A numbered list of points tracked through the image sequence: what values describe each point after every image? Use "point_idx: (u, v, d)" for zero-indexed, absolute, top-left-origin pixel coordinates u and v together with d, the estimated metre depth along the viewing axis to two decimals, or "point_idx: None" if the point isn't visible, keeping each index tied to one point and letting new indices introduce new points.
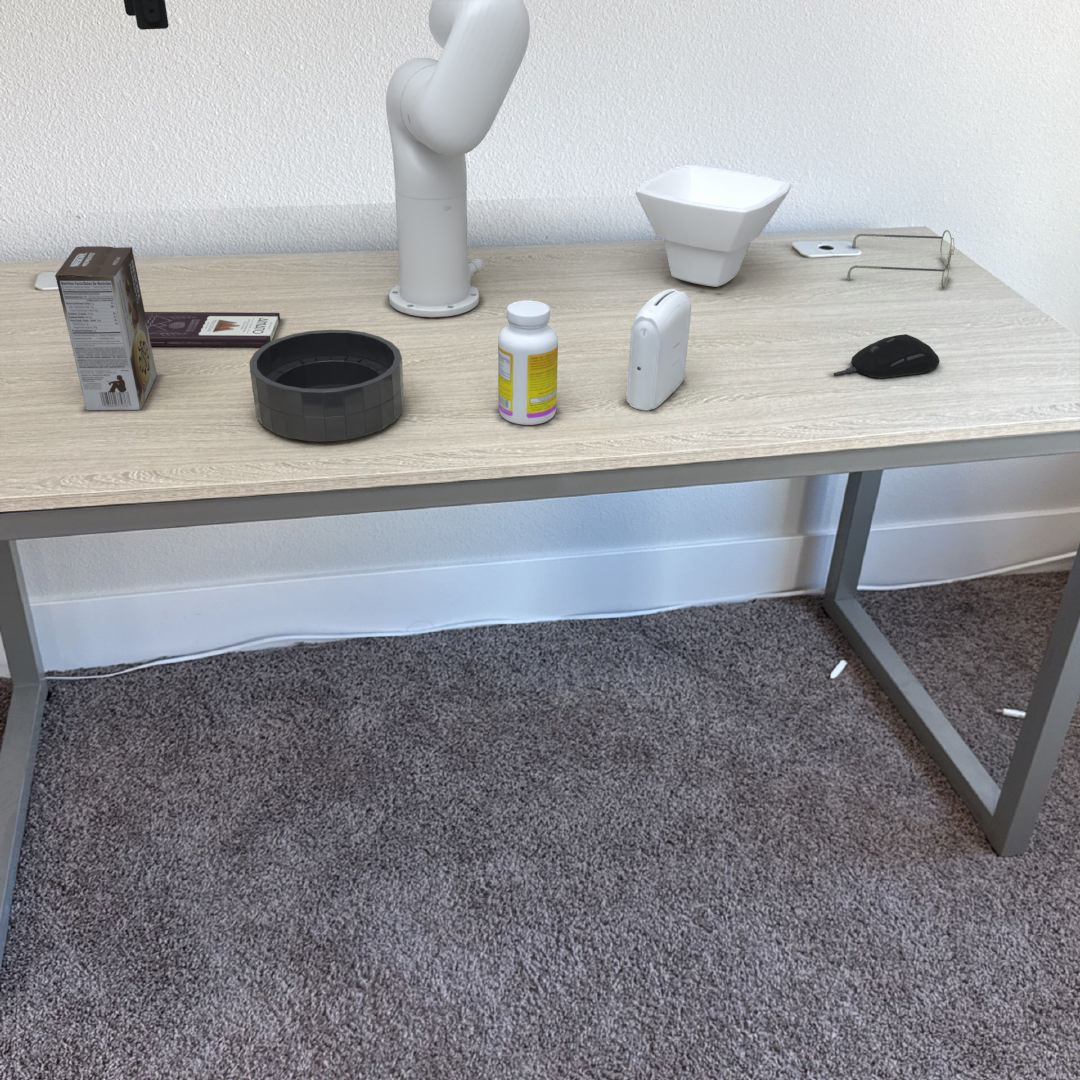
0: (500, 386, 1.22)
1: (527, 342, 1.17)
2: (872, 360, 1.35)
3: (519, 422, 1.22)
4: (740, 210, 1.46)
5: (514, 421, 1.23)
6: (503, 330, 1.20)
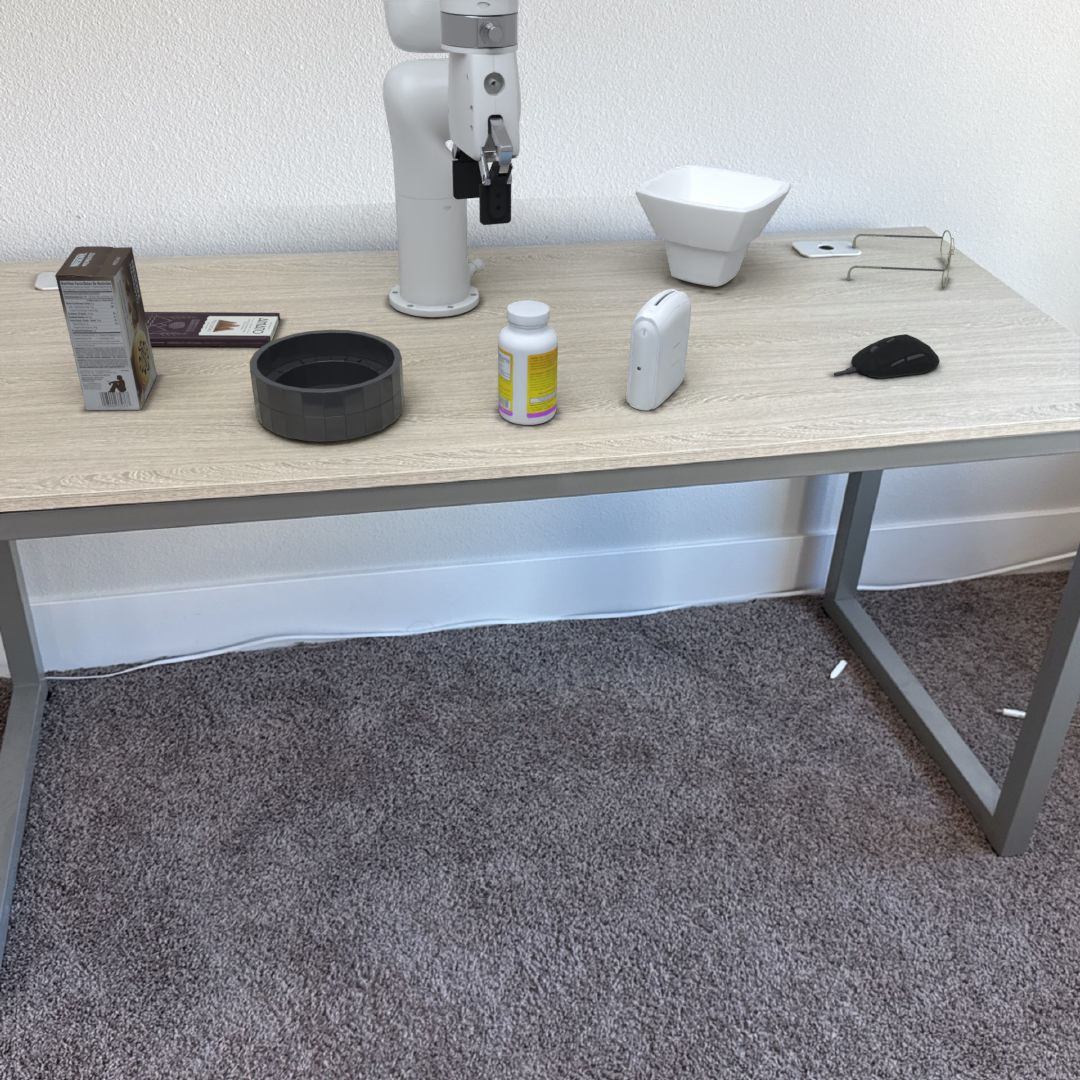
0: (500, 386, 1.22)
1: (527, 342, 1.17)
2: (872, 360, 1.35)
3: (519, 422, 1.22)
4: (740, 210, 1.46)
5: (514, 421, 1.23)
6: (503, 330, 1.20)
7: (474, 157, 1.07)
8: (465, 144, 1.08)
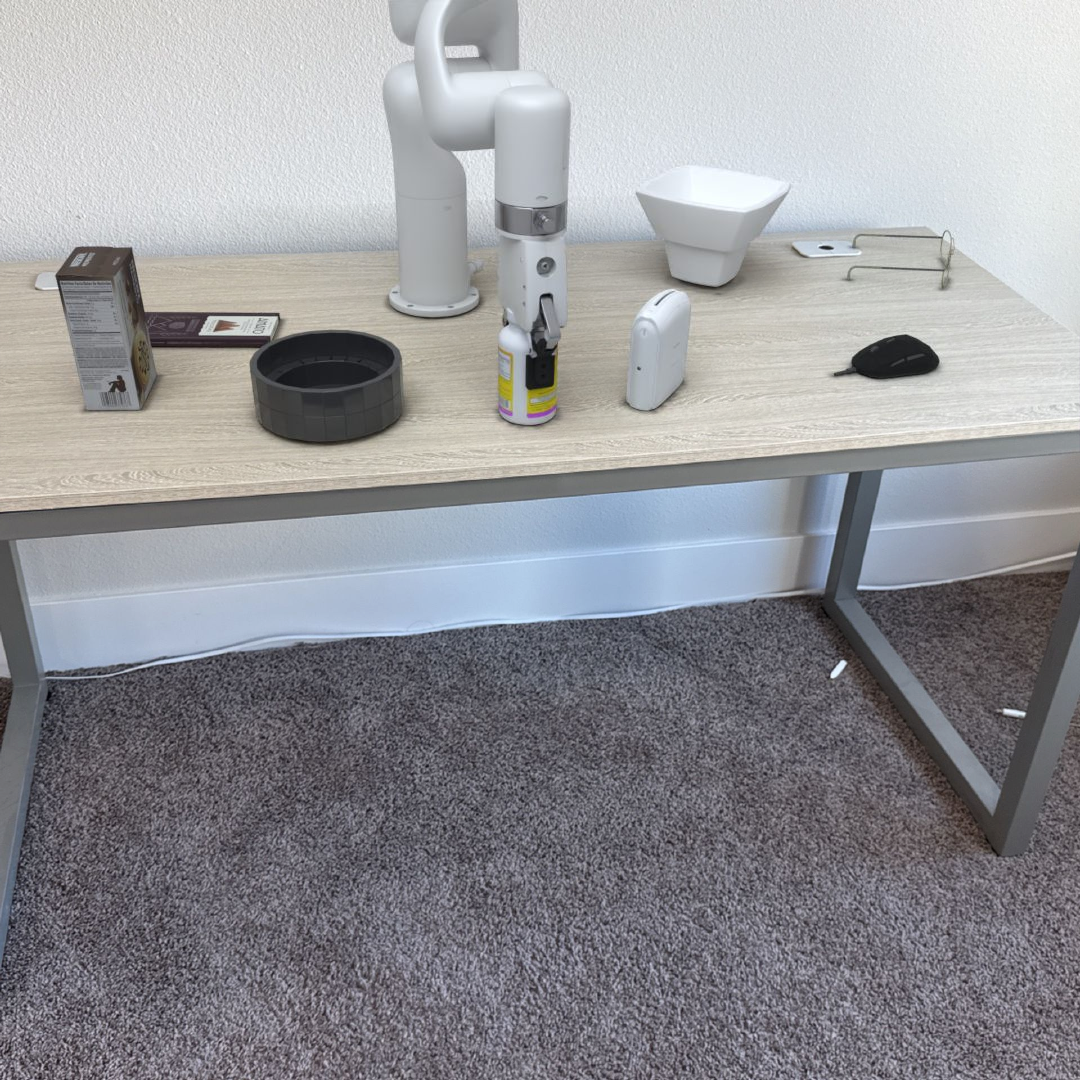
0: (500, 386, 1.22)
1: (527, 342, 1.17)
2: (872, 360, 1.35)
3: (519, 422, 1.22)
4: (740, 210, 1.46)
5: (514, 421, 1.23)
6: (503, 330, 1.20)
7: (525, 329, 1.15)
8: (516, 315, 1.16)
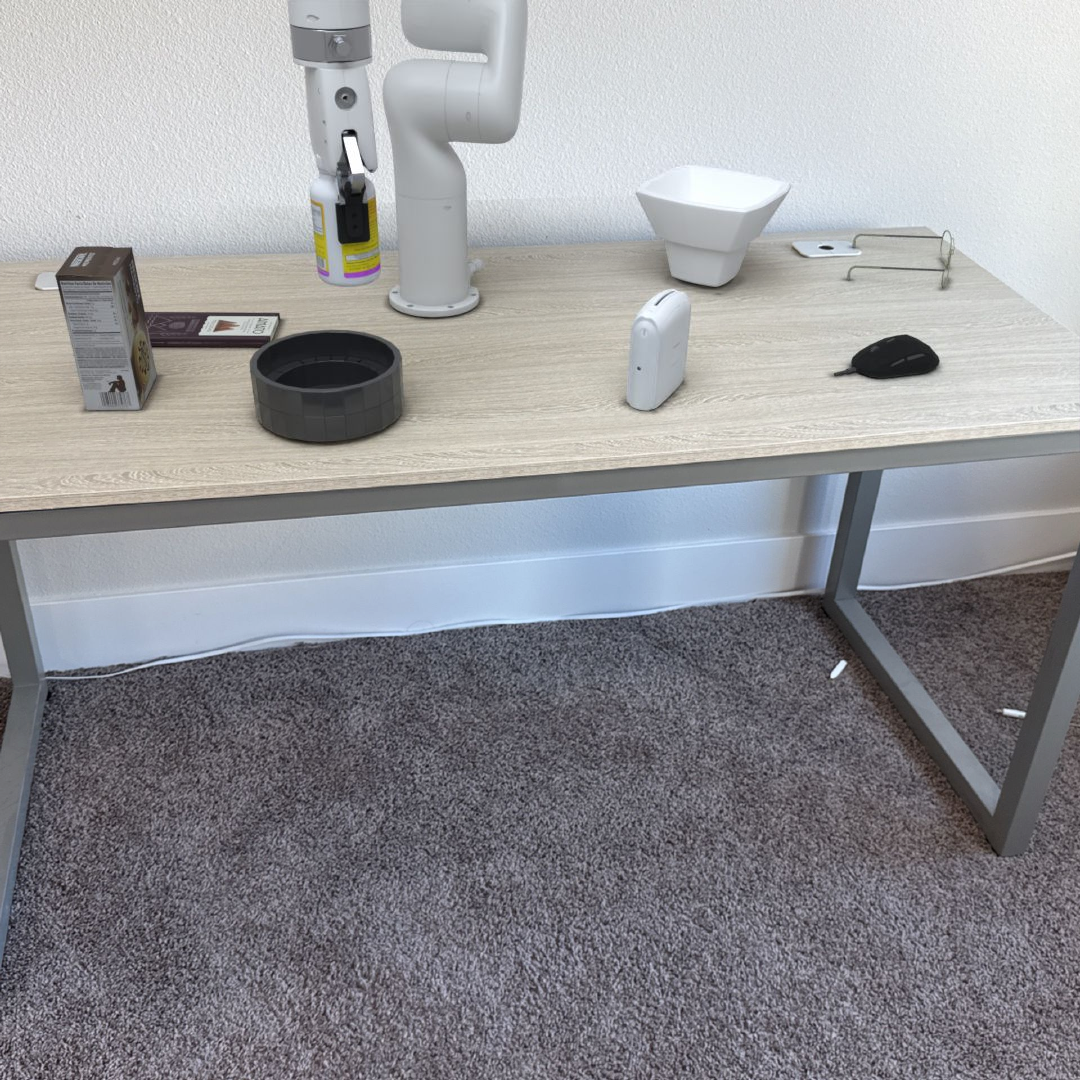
0: (315, 244, 1.13)
1: None
2: (872, 360, 1.35)
3: (337, 283, 1.13)
4: (740, 210, 1.46)
5: (332, 282, 1.13)
6: (314, 180, 1.10)
7: (330, 172, 1.06)
8: (322, 158, 1.07)
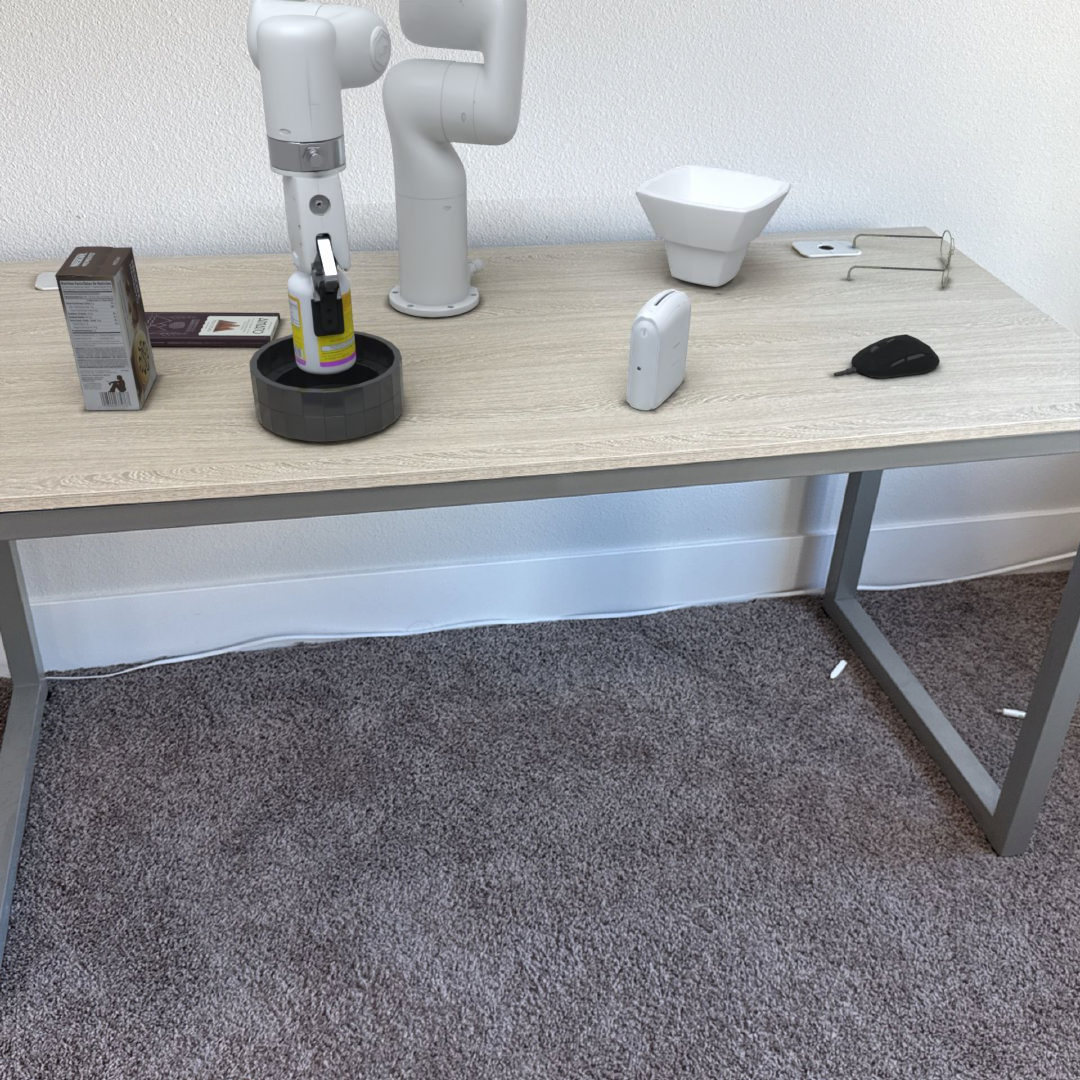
0: (293, 334, 1.18)
1: None
2: (872, 360, 1.35)
3: (313, 372, 1.19)
4: (740, 210, 1.46)
5: (308, 371, 1.19)
6: (292, 275, 1.16)
7: (306, 271, 1.11)
8: (298, 257, 1.12)
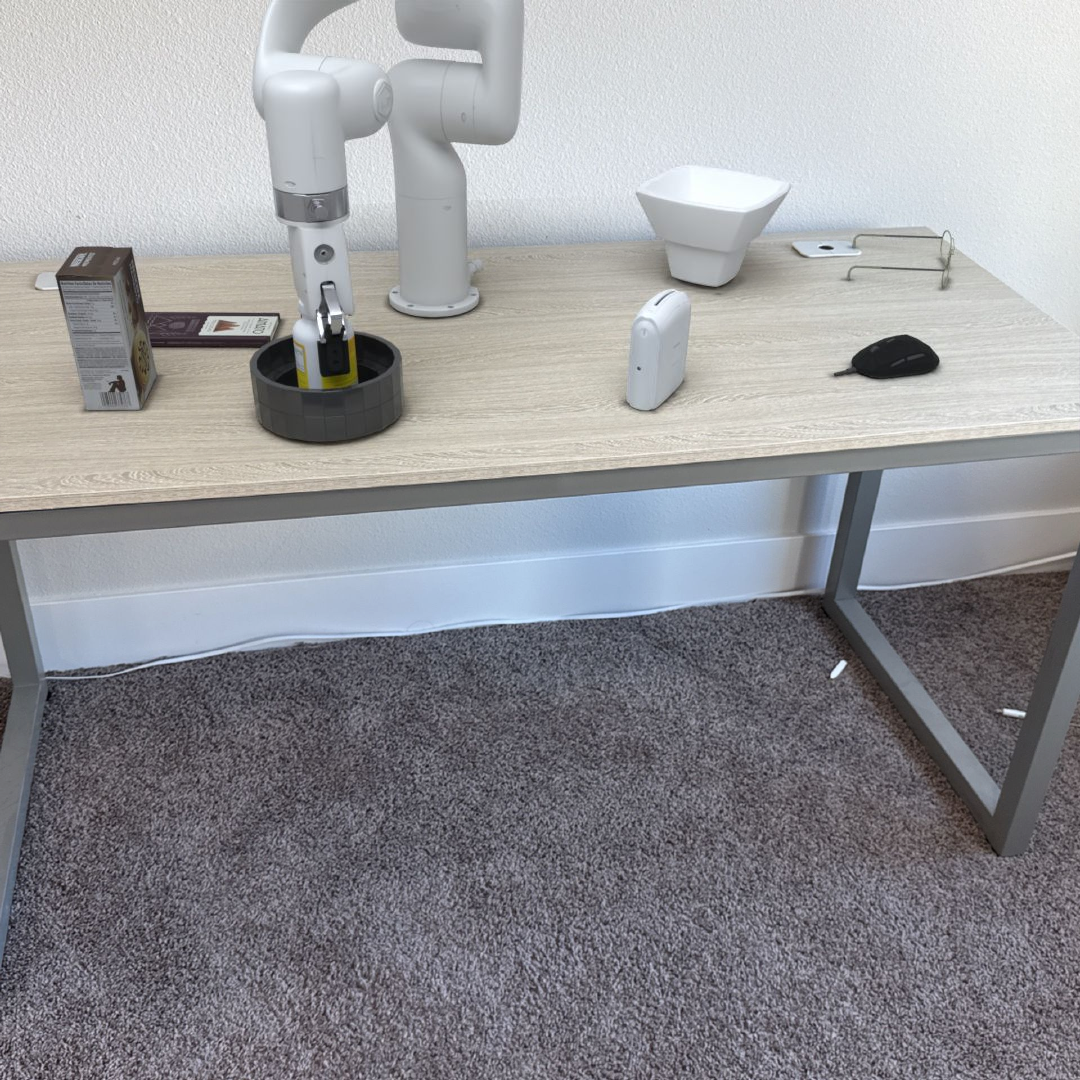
0: (298, 378, 1.21)
1: (317, 333, 1.16)
2: (872, 360, 1.35)
3: None
4: (740, 210, 1.46)
5: None
6: (297, 322, 1.19)
7: (310, 317, 1.14)
8: (303, 303, 1.15)
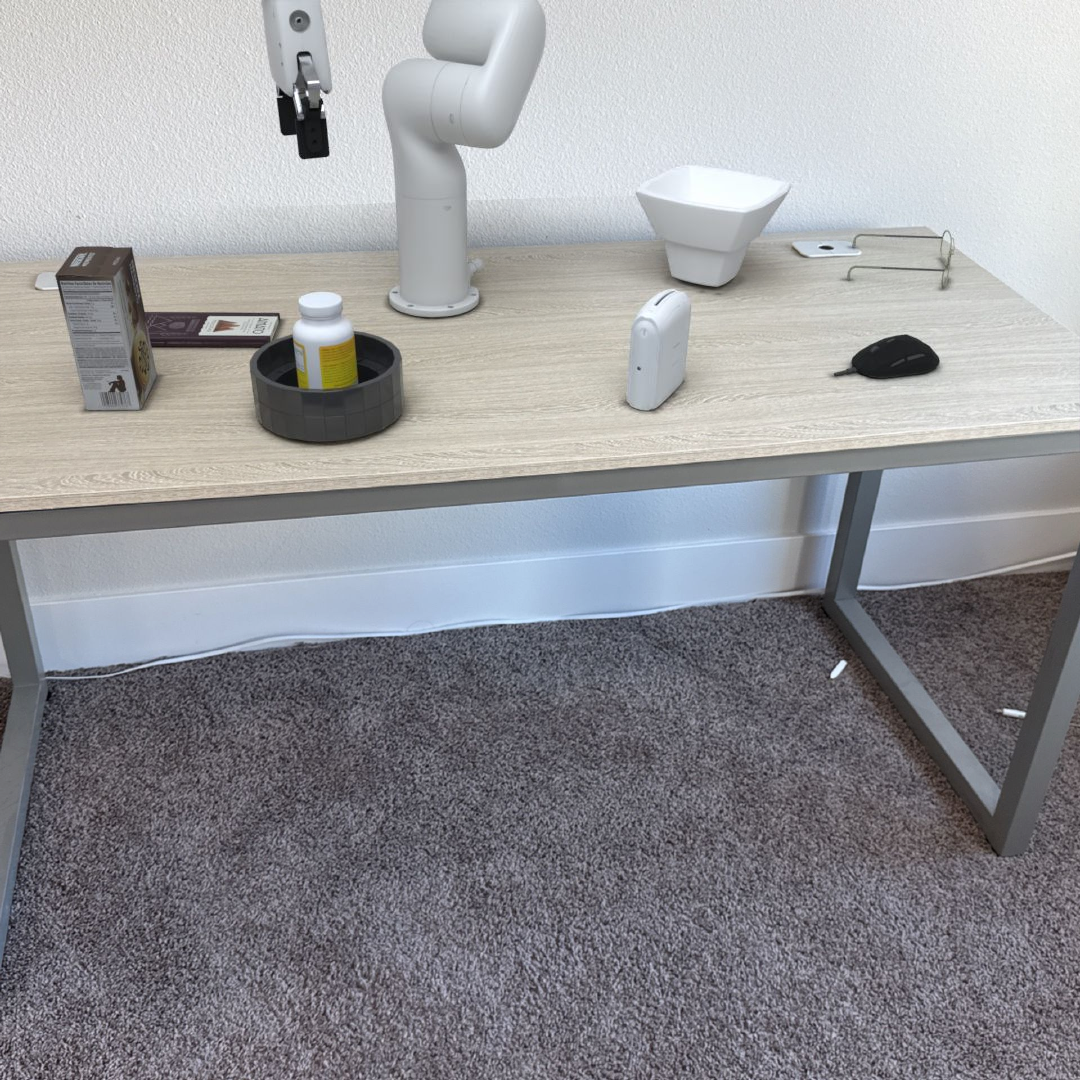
0: (298, 378, 1.21)
1: (317, 333, 1.16)
2: (872, 360, 1.35)
3: None
4: (740, 210, 1.46)
5: None
6: (297, 322, 1.19)
7: (288, 93, 1.12)
8: (280, 81, 1.13)
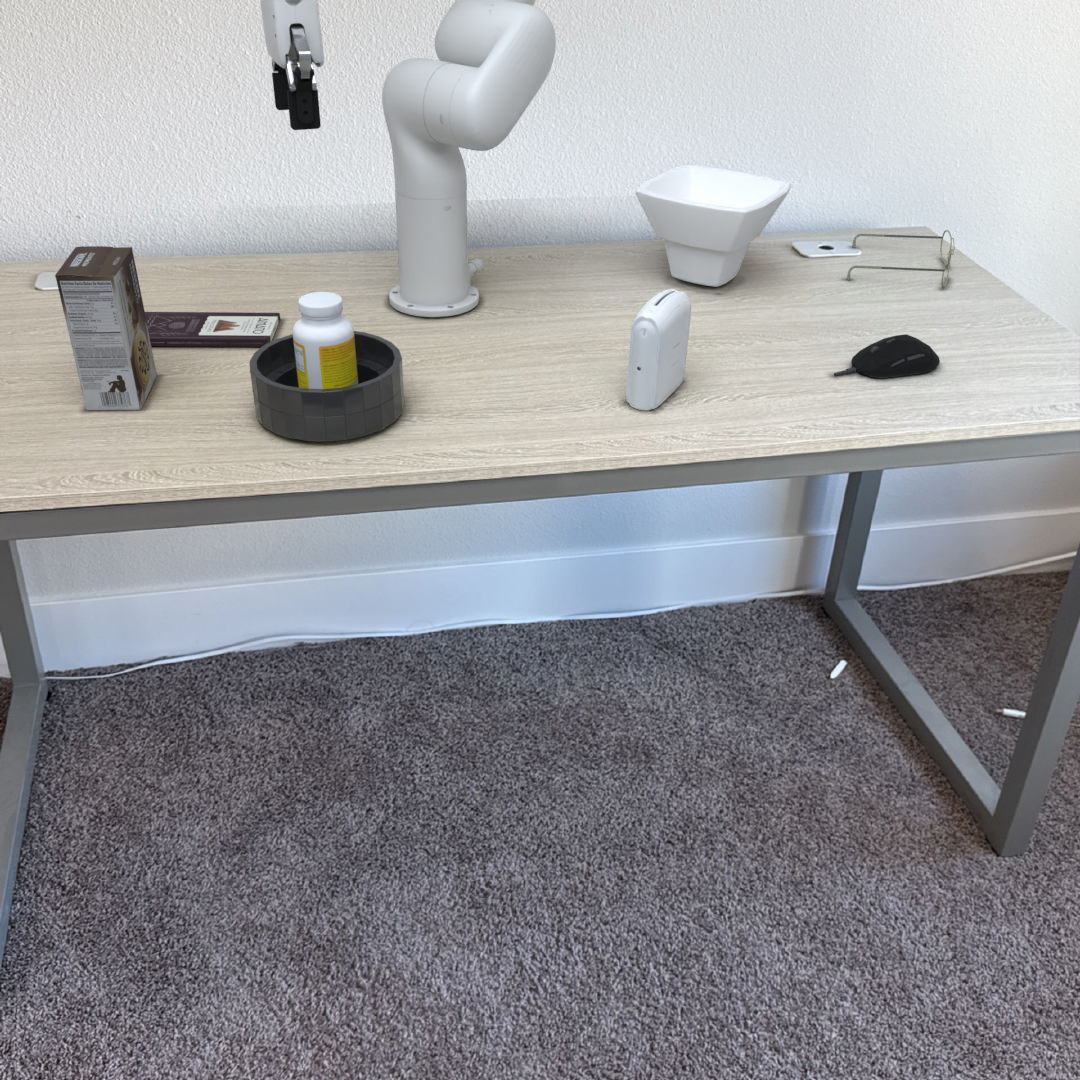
0: (298, 378, 1.21)
1: (317, 333, 1.16)
2: (872, 360, 1.35)
3: None
4: (740, 210, 1.46)
5: None
6: (297, 322, 1.19)
7: (280, 65, 1.15)
8: (274, 53, 1.17)
